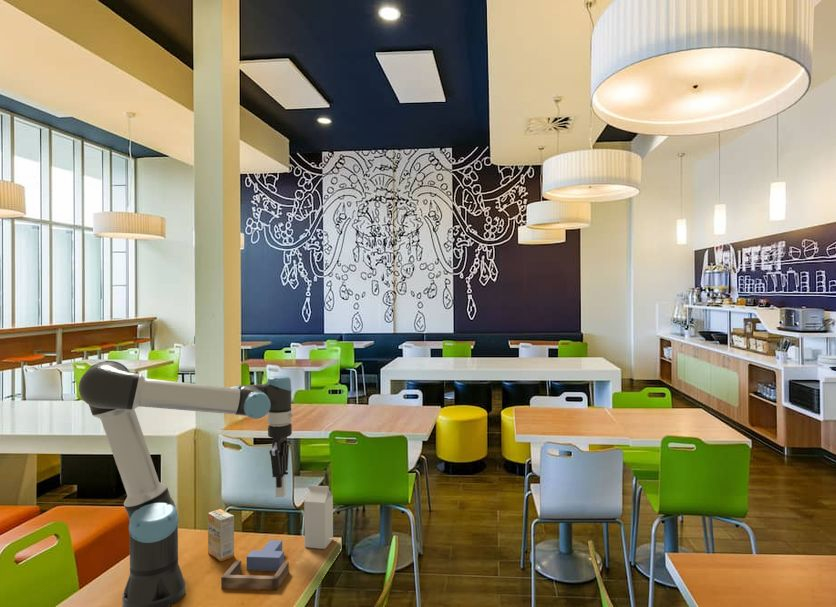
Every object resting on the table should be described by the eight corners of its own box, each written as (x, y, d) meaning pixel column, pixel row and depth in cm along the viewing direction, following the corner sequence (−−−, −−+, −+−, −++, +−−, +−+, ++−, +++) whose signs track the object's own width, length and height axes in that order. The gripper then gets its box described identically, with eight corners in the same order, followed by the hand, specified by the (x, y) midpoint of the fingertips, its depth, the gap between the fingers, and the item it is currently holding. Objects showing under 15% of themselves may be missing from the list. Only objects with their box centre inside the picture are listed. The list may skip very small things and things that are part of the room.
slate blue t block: (260, 552, 163) (260, 539, 163) (291, 553, 162) (291, 540, 162) (246, 570, 152) (246, 556, 152) (279, 571, 151) (279, 557, 151)
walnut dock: (221, 588, 142) (221, 577, 142) (236, 570, 152) (236, 560, 152) (277, 590, 141) (277, 579, 141) (288, 572, 151) (288, 561, 151)
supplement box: (207, 554, 162) (206, 512, 162) (221, 548, 166) (221, 508, 166) (220, 562, 157) (219, 519, 157) (234, 556, 161) (234, 514, 161)
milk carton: (325, 549, 165) (324, 490, 165) (304, 547, 166) (304, 489, 166) (333, 539, 171) (332, 482, 172) (313, 537, 173) (312, 481, 173)
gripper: (284, 428, 161) (285, 503, 160) (297, 419, 174) (298, 489, 174) (260, 428, 161) (261, 503, 161) (275, 419, 174) (276, 488, 174)
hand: (280, 495), depth 167 cm, fingers closed
